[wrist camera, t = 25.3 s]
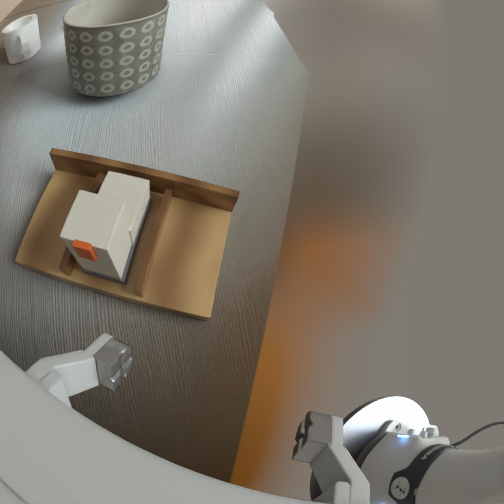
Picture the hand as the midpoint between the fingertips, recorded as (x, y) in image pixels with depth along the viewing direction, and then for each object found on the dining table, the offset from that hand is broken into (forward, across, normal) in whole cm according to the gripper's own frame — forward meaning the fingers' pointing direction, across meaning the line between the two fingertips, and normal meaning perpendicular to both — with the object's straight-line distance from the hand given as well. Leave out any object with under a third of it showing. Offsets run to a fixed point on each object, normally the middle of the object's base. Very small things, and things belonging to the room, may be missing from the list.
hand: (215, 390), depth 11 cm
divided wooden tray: (+23, +21, +7) cm, 32 cm away
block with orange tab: (+21, +20, +6) cm, 30 cm away
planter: (+41, +42, -17) cm, 61 cm away
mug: (+37, +77, -25) cm, 89 cm away
